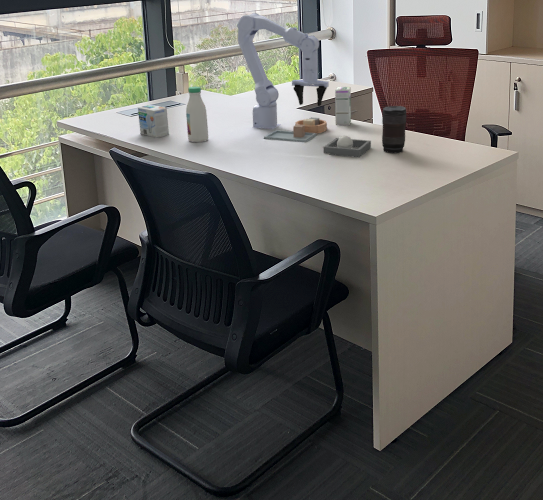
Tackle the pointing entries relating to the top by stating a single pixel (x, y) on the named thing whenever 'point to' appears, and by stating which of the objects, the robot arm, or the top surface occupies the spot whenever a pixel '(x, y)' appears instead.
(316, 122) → the plain grey cube
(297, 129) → the cardboard tan cube
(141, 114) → the light bulb box
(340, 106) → the syrup box
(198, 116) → the milk bottle
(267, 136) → the parts tray
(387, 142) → the camera lens
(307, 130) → the bowl
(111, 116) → the top surface
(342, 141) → the pale grey egg
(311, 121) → the cream matte cube
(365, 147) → the grey square tray
